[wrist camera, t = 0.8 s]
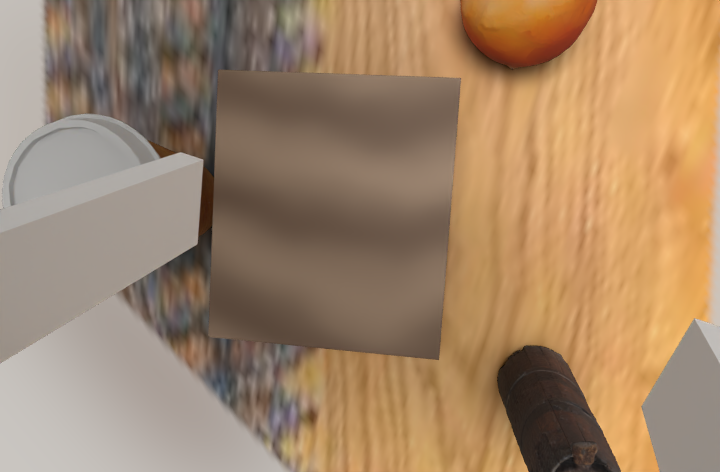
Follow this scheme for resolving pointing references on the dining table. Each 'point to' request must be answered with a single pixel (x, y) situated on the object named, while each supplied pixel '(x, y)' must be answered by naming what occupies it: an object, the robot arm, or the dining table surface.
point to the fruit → (525, 28)
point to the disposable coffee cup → (85, 159)
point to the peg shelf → (332, 210)
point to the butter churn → (551, 415)
